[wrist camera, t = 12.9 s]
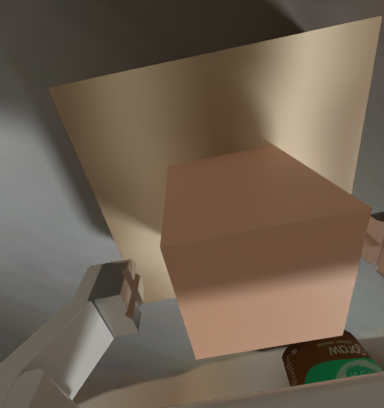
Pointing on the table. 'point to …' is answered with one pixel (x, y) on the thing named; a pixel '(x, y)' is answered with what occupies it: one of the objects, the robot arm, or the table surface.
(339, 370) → the food container
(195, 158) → the birch plinth
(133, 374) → the table surface
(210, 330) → the terracotta block
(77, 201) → the table surface
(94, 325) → the robot arm
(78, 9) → the table surface
